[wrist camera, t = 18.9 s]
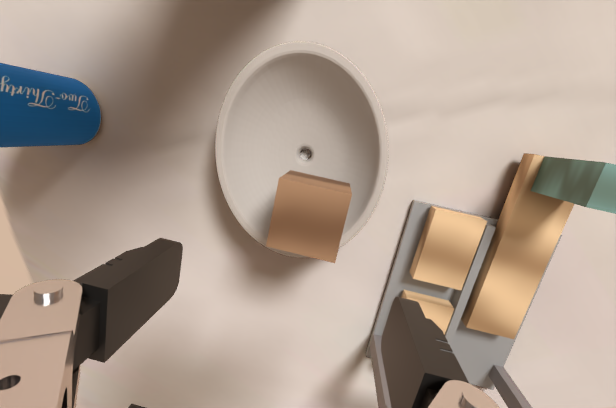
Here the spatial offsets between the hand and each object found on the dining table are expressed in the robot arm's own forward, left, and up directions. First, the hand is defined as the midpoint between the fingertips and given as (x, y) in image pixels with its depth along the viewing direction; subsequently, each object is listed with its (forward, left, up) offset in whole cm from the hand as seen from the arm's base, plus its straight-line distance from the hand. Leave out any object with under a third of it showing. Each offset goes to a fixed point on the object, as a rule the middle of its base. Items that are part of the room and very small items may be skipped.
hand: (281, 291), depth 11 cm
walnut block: (0, 0, -15) cm, 15 cm away
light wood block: (+2, +13, -20) cm, 24 cm away
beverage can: (-2, -26, -20) cm, 33 cm away
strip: (+1, +19, -20) cm, 28 cm away
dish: (-3, -2, -20) cm, 20 cm away
